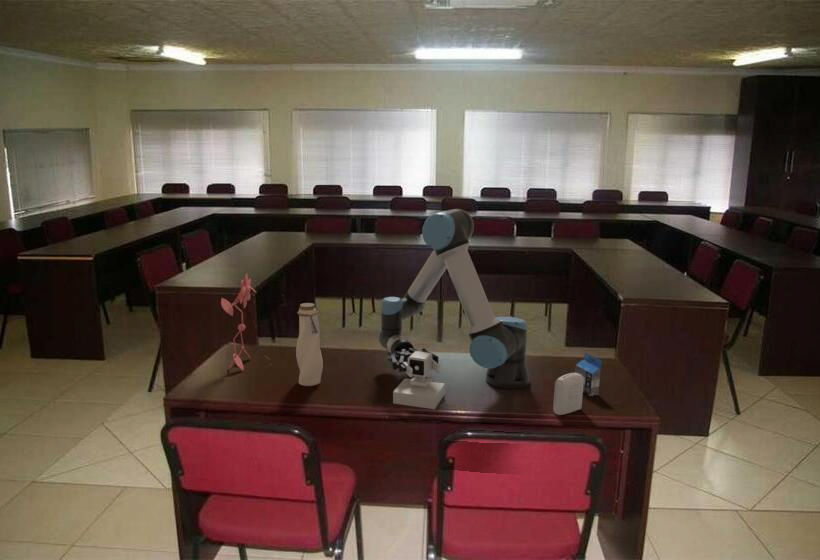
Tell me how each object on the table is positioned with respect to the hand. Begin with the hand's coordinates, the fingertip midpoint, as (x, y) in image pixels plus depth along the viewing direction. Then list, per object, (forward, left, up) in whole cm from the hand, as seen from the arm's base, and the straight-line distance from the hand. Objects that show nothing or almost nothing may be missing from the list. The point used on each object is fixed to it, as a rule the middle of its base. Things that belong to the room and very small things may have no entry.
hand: (425, 371), depth 195 cm
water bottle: (+43, -5, -12) cm, 45 cm away
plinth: (+3, -4, -11) cm, 12 cm away
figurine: (+72, -12, -12) cm, 74 cm away
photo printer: (-44, -11, -12) cm, 47 cm away
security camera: (+3, -4, -6) cm, 8 cm away
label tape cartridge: (-49, -29, -12) cm, 58 cm away
